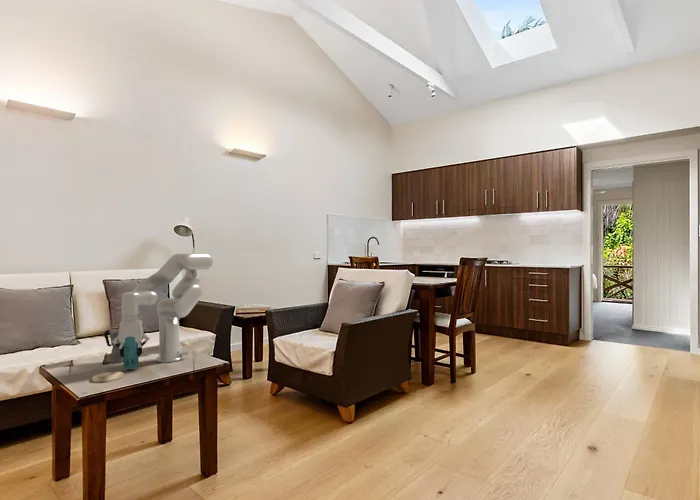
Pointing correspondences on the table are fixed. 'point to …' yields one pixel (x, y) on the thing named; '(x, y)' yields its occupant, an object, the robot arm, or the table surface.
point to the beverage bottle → (130, 353)
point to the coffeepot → (115, 351)
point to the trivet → (107, 377)
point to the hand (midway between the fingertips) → (131, 355)
